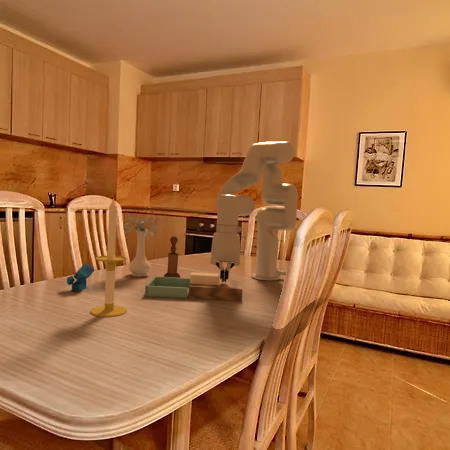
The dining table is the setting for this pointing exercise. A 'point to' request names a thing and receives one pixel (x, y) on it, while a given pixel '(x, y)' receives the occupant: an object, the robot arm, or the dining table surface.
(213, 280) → the tile
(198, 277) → the tile
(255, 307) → the dining table surface
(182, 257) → the dining table surface
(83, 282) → the crystal
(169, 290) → the tray
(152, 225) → the flower vase
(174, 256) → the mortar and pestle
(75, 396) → the dining table surface
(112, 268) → the candle
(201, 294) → the board
